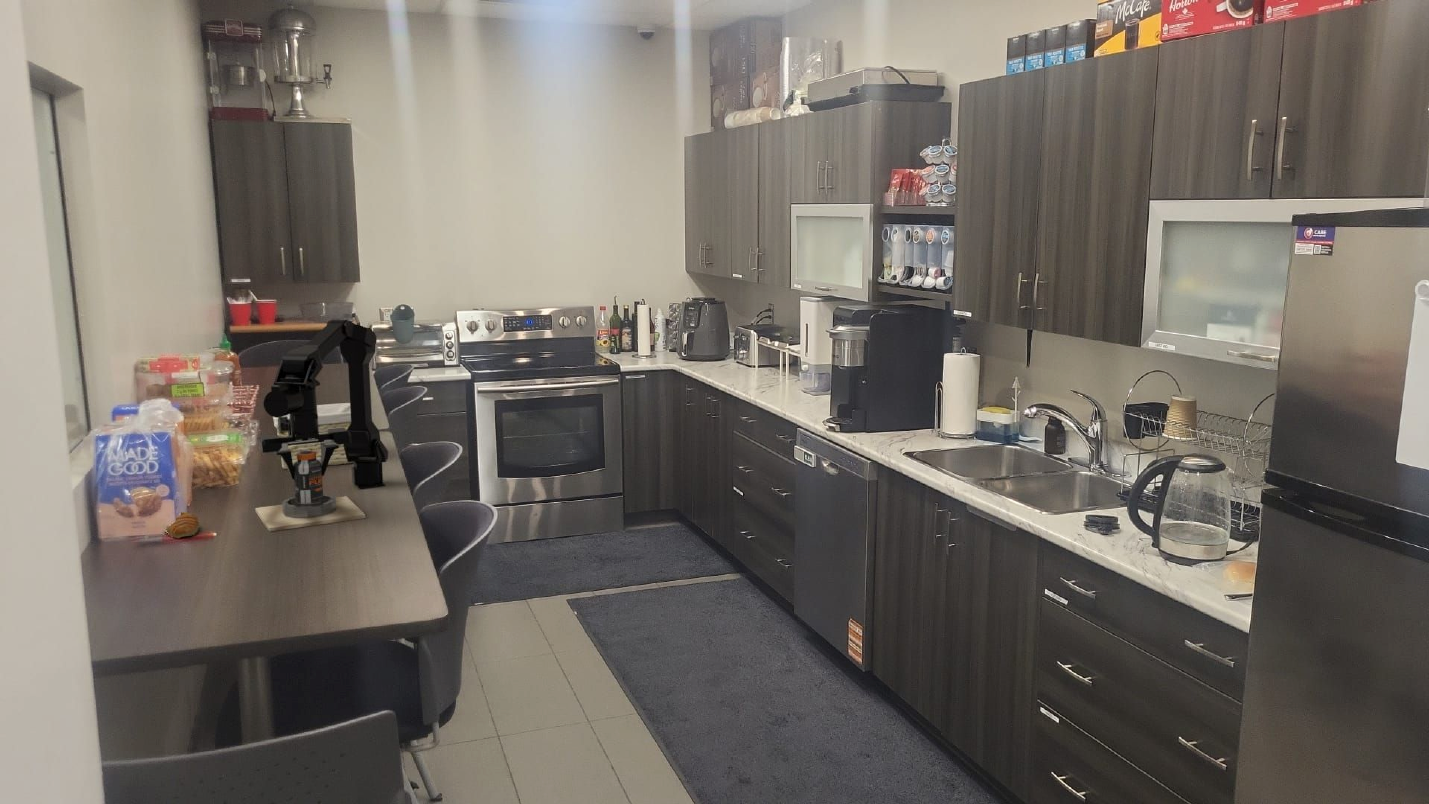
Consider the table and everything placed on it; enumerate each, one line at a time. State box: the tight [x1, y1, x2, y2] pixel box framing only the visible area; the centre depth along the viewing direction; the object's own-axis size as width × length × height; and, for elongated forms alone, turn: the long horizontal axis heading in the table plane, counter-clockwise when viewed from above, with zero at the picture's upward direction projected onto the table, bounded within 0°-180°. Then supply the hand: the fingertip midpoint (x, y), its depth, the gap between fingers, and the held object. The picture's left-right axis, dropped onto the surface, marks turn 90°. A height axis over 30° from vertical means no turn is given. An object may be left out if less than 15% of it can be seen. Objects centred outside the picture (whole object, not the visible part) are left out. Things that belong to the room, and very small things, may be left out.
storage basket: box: [272, 402, 353, 470], centre depth 284 cm, size 24×16×15 cm
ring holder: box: [255, 493, 366, 533], centre depth 234 cm, size 20×18×3 cm
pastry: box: [166, 511, 200, 539], centre depth 220 cm, size 9×7×4 cm
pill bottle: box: [293, 451, 324, 504], centre depth 232 cm, size 6×6×11 cm
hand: (307, 477), depth 232 cm, fingers closed on pill bottle, 6 cm apart
